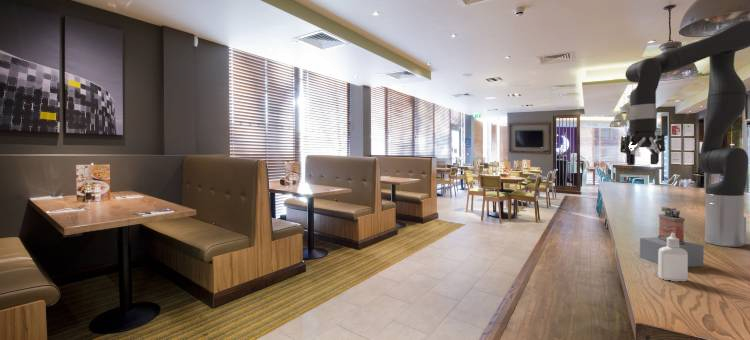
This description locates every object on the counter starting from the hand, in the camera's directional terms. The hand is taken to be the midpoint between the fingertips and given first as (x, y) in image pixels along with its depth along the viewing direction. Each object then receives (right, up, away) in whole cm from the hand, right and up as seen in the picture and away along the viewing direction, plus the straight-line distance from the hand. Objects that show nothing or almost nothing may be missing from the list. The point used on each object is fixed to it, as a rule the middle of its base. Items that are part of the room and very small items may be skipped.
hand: (642, 164), depth 118 cm
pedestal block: (-6, -29, -18) cm, 35 cm away
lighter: (-6, -23, -18) cm, 30 cm away
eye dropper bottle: (-17, -30, -32) cm, 47 cm away
